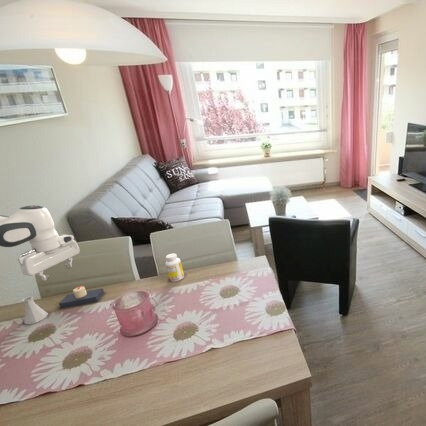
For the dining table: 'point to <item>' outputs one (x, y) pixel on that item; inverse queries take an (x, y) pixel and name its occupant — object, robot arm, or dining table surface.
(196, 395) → the dining table surface
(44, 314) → the flask
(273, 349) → the dining table surface
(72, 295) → the control panel
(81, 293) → the small cream cake
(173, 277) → the supplement bottle
